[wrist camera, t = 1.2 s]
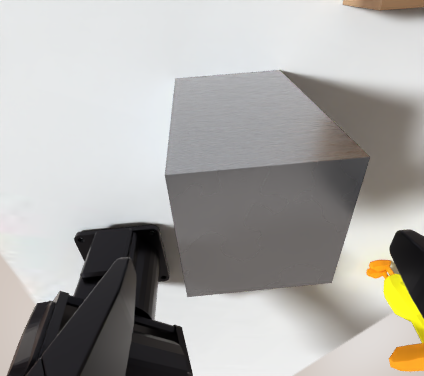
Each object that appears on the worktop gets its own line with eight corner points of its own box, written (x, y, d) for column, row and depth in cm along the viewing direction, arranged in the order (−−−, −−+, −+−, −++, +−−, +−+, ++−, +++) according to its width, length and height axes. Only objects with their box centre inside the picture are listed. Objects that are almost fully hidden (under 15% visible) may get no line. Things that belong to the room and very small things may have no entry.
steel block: (272, 160, 20) (331, 282, 12) (186, 168, 20) (187, 296, 12) (279, 70, 16) (370, 156, 8) (175, 78, 16) (164, 175, 8)
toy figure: (338, 281, 29) (415, 433, 19) (345, 258, 27) (435, 415, 17) (404, 274, 29) (514, 421, 19) (416, 250, 27) (546, 402, 17)
